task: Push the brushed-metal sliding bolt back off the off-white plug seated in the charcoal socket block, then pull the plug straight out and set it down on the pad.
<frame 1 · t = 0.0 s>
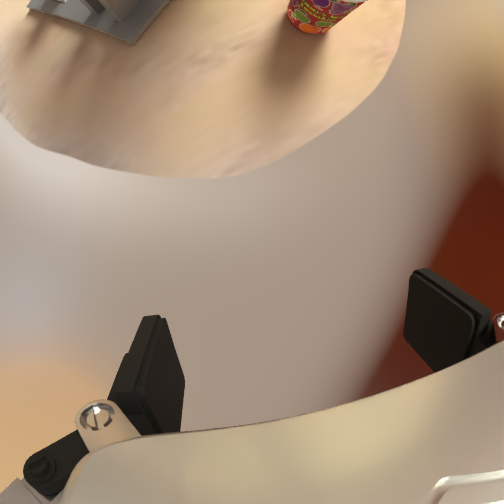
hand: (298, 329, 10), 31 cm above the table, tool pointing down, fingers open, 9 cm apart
smoothie: (308, 18, 33), on the table
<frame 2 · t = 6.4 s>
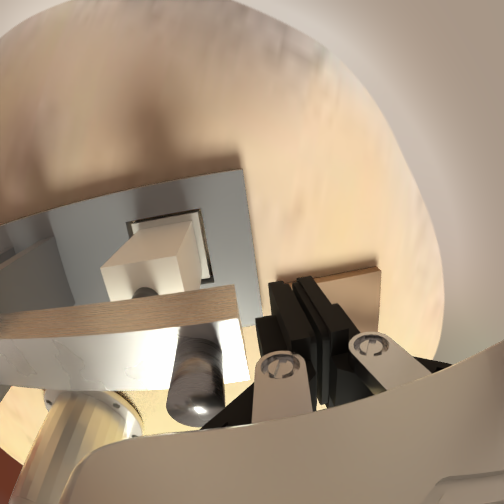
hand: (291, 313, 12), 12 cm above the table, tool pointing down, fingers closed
plug: (172, 246, 23), resting in socket block
pad: (329, 321, 26), on the table
socket block: (172, 246, 23), on the table
bolt: (2, 362, 9), point 14 cm above the table, slide at 1.5 cm, touching gripper
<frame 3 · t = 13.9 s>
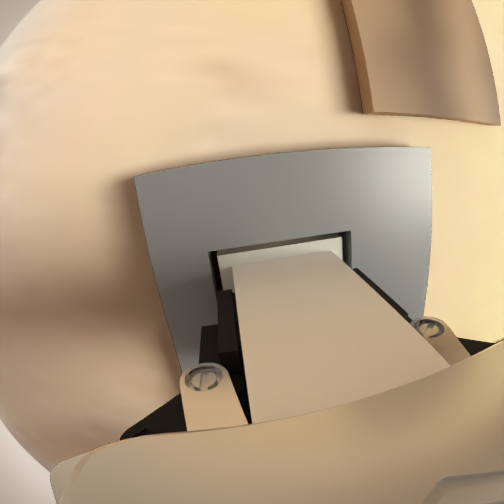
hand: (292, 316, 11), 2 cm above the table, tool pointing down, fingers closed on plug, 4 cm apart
plug: (281, 291, 14), resting in socket block, touching gripper
pad: (423, 37, 10), on the table
socket block: (281, 291, 14), on the table
when the fingers open (5 cm above the table, at t = 20.6 s): plug stays where it is, resting on pad.
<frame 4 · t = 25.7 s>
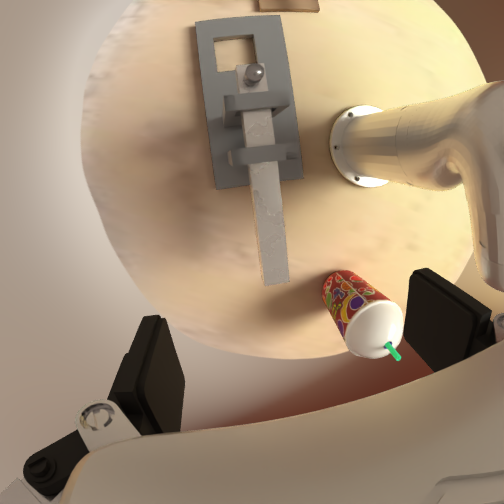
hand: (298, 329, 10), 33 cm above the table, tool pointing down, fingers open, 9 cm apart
socket block: (235, 55, 36), on the table
bolt: (264, 175, 28), point 14 cm above the table, slide at 12.0 cm
smoothie: (338, 286, 48), on the table
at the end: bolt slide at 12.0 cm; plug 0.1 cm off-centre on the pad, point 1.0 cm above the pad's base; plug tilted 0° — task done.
